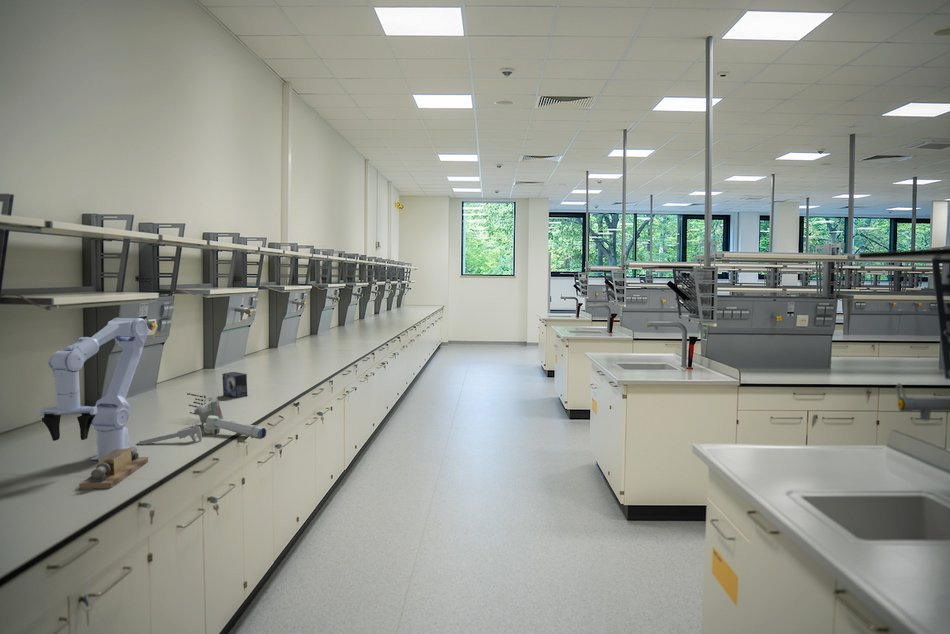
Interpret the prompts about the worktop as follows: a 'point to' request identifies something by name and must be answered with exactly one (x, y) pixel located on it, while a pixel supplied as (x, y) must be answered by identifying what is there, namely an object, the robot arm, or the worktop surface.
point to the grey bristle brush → (207, 409)
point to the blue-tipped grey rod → (233, 427)
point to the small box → (234, 384)
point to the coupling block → (117, 460)
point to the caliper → (176, 435)
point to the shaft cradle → (104, 480)
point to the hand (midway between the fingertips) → (70, 439)
